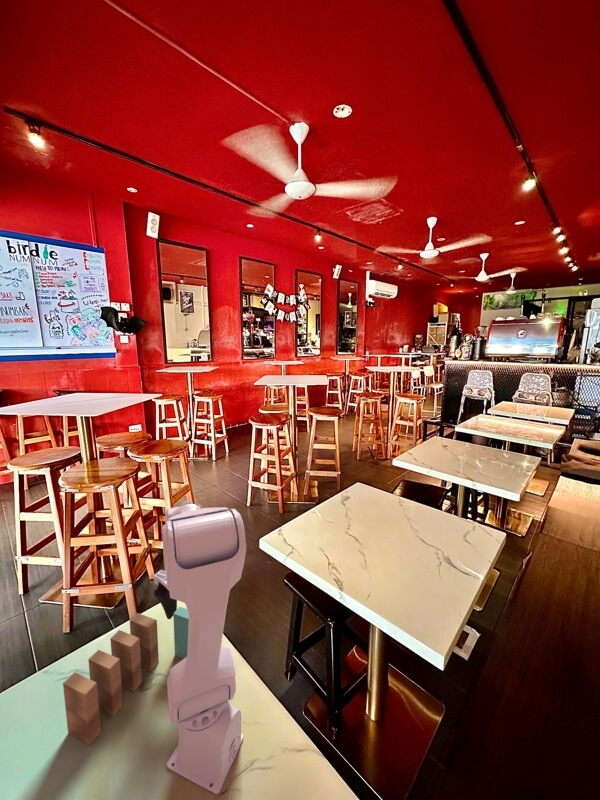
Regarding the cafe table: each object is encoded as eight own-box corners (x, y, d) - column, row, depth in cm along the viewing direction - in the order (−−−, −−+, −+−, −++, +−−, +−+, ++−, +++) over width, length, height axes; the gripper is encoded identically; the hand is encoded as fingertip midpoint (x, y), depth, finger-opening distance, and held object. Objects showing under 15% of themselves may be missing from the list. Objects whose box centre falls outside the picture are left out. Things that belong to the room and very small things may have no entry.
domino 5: (200, 654, 71) (199, 613, 69) (194, 662, 69) (193, 620, 67) (181, 646, 72) (179, 606, 71) (174, 654, 70) (173, 613, 69)
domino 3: (141, 682, 64) (139, 638, 63) (133, 692, 63) (130, 646, 61) (122, 673, 66) (119, 629, 64) (113, 683, 64) (110, 638, 63)
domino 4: (158, 662, 69) (156, 620, 67) (151, 670, 67) (149, 627, 65) (139, 654, 70) (137, 612, 69) (132, 662, 68) (129, 620, 67)
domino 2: (122, 705, 60) (119, 658, 59) (113, 717, 58) (109, 669, 57) (102, 695, 62) (98, 649, 60) (92, 706, 60) (88, 659, 58)
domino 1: (100, 732, 56) (96, 682, 54) (90, 745, 54) (85, 694, 53) (79, 720, 58) (74, 672, 56) (68, 733, 56) (62, 683, 54)
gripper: (226, 559, 68) (227, 616, 71) (169, 543, 73) (171, 597, 75) (206, 581, 62) (207, 644, 64) (145, 562, 66) (148, 621, 69)
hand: (186, 620), depth 69 cm, fingers open, 7 cm apart
